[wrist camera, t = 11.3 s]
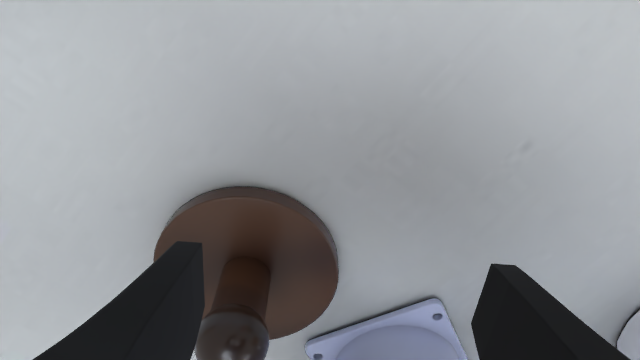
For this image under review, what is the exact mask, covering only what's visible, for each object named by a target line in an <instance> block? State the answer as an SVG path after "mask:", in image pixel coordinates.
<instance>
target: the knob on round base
mask: <svg viewBox="0 0 640 360" xmlns="http://www.w3.org/2000/svg"><path fill="white" fill-rule="evenodd" d="M177 241H185V242H199V243H202V249H203V273H204V296H205V308H204V312H203V316H202V321H201V325H200V329H199V333H198V337H197V341H196V345H195V348H194V349H195V355H196V358H197V360H264V359H265V357H266V354H267V351H268V347H269V340H271V339H277V338H281V337H284V336H288V335H290V334H293V333H295V332H298V331H300V330H302V329H303V328H305V327H307V326H308V325H310V324H311V323H313V322H314V321H315V320H316V319H317V318H318V317H320V316H321V315H322V314H323V312H324V311H325V310H326V309H327V307H328V306H329V304H330V302H331V301H332V299H333V297H334V294H335V292H336V289H337V284H338V273H339V270H338V257H337V250H336V247H335V244H334V241H333V239H332V237H331V235H330V233H329V231H328V230H327V228H326V227H325V225H324V224H323V223H322V221H321V220H320V219H319V218H318V217H317V216H316V215H315V214H314V213H313V212H312V211H310V210H309V209H308V208H307V207H305V206H304V205H302V204H301V203H299V202H298V201H296V200H294V199H292V198H290V197H288V196H286V195H283V194H280V193H277V192H275V191H271V190H267V189H262V188H255V187H229V188H222V189H218V190H214V191H210V192H208V193H205V194H202V195H200V196H198V197H196V198H194V199H192V200H190V201H189V202H187V203H186V204H185V205H183V206H182V207H181V208H180V209H179V210H178V211H176V212H175V213H174V214H173V216H172V217H171V218H170V220H169V221H168V222H167V224H166V226H165V228H164V230H163V232H162V234H161V236H160V238H159V239H158V242H157V245H156V248H155V252H154V262H155V261H156V260H157V259H158V258H159V257H160V256H161V255H162V254H163V253H164V252H165V251H166V250H167V249H168V248H170V247H171V246H172V245H173V244H174V243H175V242H177Z"/></svg>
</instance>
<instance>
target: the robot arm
mask: <svg viewBox="0 0 640 360" xmlns="http://www.w3.org/2000/svg"><path fill="white" fill-rule="evenodd" d="M204 308H205V296H204V273H203V249H202V243H199V242H185V241H177V242H175V243H174V244H173V245H172V246H171V247H170V248H168V249H167V250H166V251H165V252H164V253H163V254H162V255H161V256H160V257H159V258H158V259H157V260H156V261H155V262H154V263H153V264H152V265H151V266H150V267H149V268H148V269H146V270H145V271H144V272H143V273H142V274H141V275H140V276H139V277H138V278H137V279H136V280H135V281H133V282H132V283H131V284H130V285H129V286H128V287H127V288H126V289H124V290H123V291H122V292H121V293H120V294H119V295H118V296H117V297H115V298H114V299H113V300H112V301H111V302H109V303H108V304H107V305H106V306H105V307H103V308H102V309H101V310H100V311H98V312H97V313H96V314H95V315H93V316H92V317H91V318H90V319H89V320H87V321H86V322H85V323H84V324H82V325H81V326H80V327H78V328H77V329H76V330H74V331H73V332H72V333H70V334H69V335H68V336H66V337H65V338H63V339H62V340H61V341H59V342H58V343H56V344H55V345H54V346H52V347H51V348H49V349H48V350H46V351H45V352H43V353H42V354H40V355H39V356H37V357H36V358H34V359H33V360H190V359H191V356H192V353H193V350H194V348H195V345H196V341H197V337H198V333H199V329H200V325H201V321H202V316H203V312H204ZM436 313H439V314H437V315H434V314H436ZM471 325H472V330H473V334H474V339H475V343H476V347H477V351H478V355H479V359H480V360H631V359H629V358H628V357H627V356H625V355H624V354H623V353H622V352H620V351H619V350H618V349H616V348H615V347H614V346H612V345H611V344H610V343H608V342H607V341H606V340H605V339H603V338H602V337H601V336H600V335H598V334H597V333H596V332H595V331H593V330H592V329H591V328H590V327H589V326H587V325H586V324H585V323H584V322H582V321H581V320H580V319H579V318H578V317H576V316H575V315H574V314H573V313H572V312H571V311H569V310H568V309H567V308H566V307H565V306H563V305H562V304H561V303H560V302H559V301H558V300H556V299H555V298H554V297H553V296H552V295H551V294H549V293H548V292H547V291H546V290H545V289H544V288H542V287H541V286H540V285H539V284H538V283H537V282H535V281H534V280H533V279H532V278H531V277H529V276H528V275H527V274H526V273H524V272H523V271H522V270H521V269H519V268H518V267H517V266H515V265H503V264H491V266H490V269H489V272H488V275H487V278H486V281H485V284H484V287H483V290H482V292H481V295H480V298H479V301H478V304H477V307H476V310H475V313H474V316H473V319H472V322H471ZM305 351H306V354H307V355H308V356H309V358H310V359H311V360H468V357H467V355H466V353H465V351H464V349H463V347H462V345H461V342H460V340H459V338H458V336H457V334H456V332H455V330H454V327H453V325H452V323H451V321H450V319H449V317H448V315H447V312H446V310H445V308H444V306H443V304H442V302H441V301H440V300H438V299H434V298H433V299H429V300H426V301H423V302H420V303H417V304H414V305H411V306H408V307H405V308H403V309H400V310H397V311H394V312H391V313H388V314H385V315H382V316H379V317H376V318H373V319H370V320H368V321H365V322H362V323H359V324H356V325H353V326H350V327H347V328H344V329H341V330H338V331H335V332H332V333H330V334H327V335H324V336H321V337H318V338H315V339H312V340H309V341H308V342H307V343H306V345H305ZM316 353H320V354H316Z"/></svg>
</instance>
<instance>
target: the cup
mask: <svg viewBox="0 0 640 360" xmlns="http://www.w3.org/2000/svg"><path fill="white" fill-rule="evenodd" d="M617 349H618V350H619V351H620V352H622V353H623V354H624V355H625V356H627V357H628V358H629V359H631V360H640V310H639V311H638V312H637V313H636V314H635V315H634V316H633V317H632V318H631V319H630V320H629V321H628V323H627V325H626V326H625V328H624V330H623V331H622V333H621V335H620V337H619V339H618V341H617Z"/></svg>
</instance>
